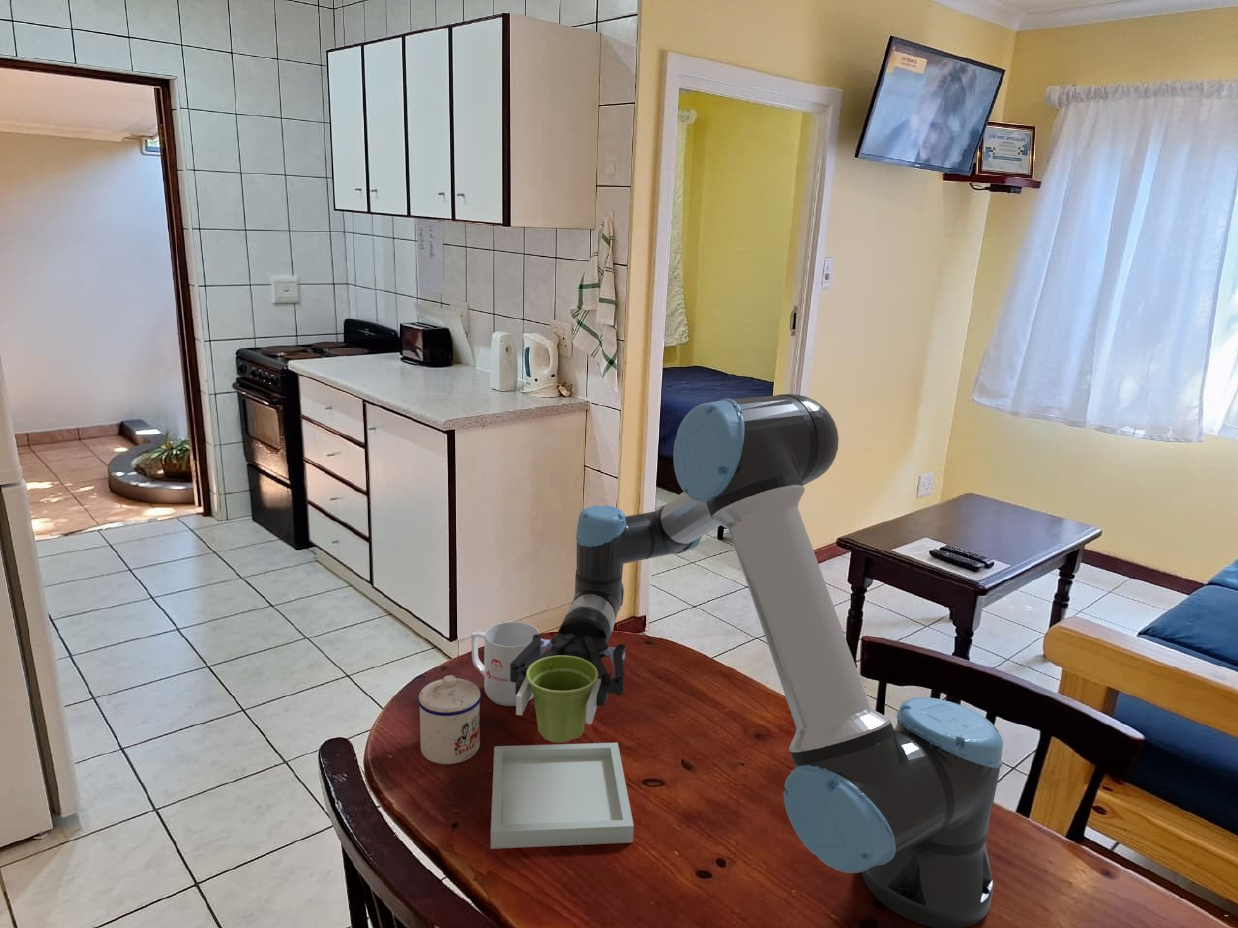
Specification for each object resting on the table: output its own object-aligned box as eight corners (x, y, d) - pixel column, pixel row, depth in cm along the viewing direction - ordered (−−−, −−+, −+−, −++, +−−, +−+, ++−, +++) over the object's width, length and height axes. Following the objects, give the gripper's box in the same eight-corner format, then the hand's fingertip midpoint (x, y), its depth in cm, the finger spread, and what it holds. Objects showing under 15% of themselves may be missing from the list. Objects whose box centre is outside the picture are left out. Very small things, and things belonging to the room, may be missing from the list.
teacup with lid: (464, 772, 121) (463, 699, 118) (407, 758, 123) (405, 687, 120) (499, 727, 132) (499, 659, 129) (446, 715, 135) (445, 649, 131)
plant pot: (516, 745, 110) (517, 686, 107) (536, 706, 119) (537, 650, 116) (587, 756, 108) (589, 696, 106) (601, 715, 117) (604, 659, 115)
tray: (632, 842, 109) (633, 825, 108) (490, 848, 107) (490, 831, 106) (617, 757, 126) (617, 742, 125) (494, 761, 124) (494, 746, 123)
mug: (547, 688, 144) (549, 628, 141) (521, 714, 136) (521, 651, 133) (487, 671, 148) (487, 613, 145) (457, 695, 140) (457, 634, 137)
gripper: (654, 658, 129) (635, 746, 107) (518, 643, 131) (473, 725, 110) (657, 613, 127) (638, 693, 105) (519, 598, 129) (473, 673, 108)
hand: (553, 709), depth 107 cm, fingers closed on plant pot, 8 cm apart
